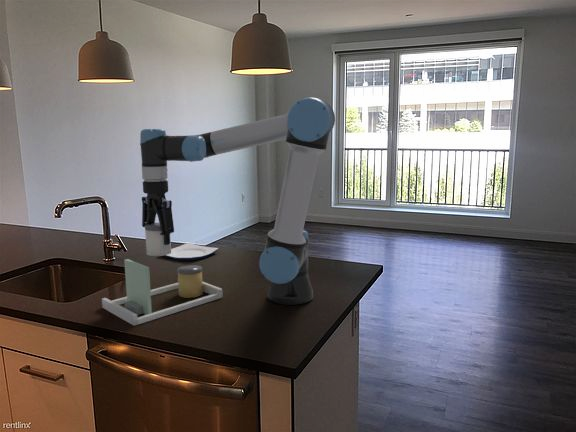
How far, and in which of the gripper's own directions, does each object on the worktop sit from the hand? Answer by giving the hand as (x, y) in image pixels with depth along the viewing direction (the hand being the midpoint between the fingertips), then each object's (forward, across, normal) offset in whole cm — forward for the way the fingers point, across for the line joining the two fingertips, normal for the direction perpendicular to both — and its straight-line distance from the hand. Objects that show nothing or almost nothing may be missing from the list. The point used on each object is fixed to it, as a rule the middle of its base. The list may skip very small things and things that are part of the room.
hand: (158, 251), depth 152 cm
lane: (+17, 0, -1) cm, 17 cm away
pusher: (+17, 0, +9) cm, 19 cm away
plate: (+18, +43, -40) cm, 61 cm away
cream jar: (0, 0, 0) cm, 0 cm away
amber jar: (+17, 0, -11) cm, 20 cm away
